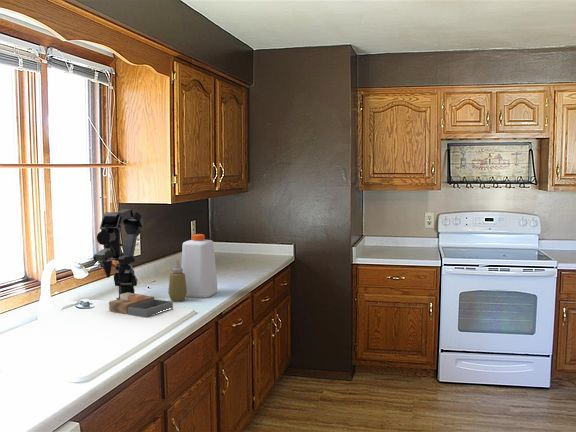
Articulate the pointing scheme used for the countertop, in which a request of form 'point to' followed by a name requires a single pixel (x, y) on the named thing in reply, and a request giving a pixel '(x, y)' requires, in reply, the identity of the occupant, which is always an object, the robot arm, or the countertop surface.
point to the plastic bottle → (199, 267)
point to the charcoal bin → (149, 307)
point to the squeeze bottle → (177, 284)
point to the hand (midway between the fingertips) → (114, 278)
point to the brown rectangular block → (125, 304)
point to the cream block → (126, 295)
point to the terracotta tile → (136, 297)
